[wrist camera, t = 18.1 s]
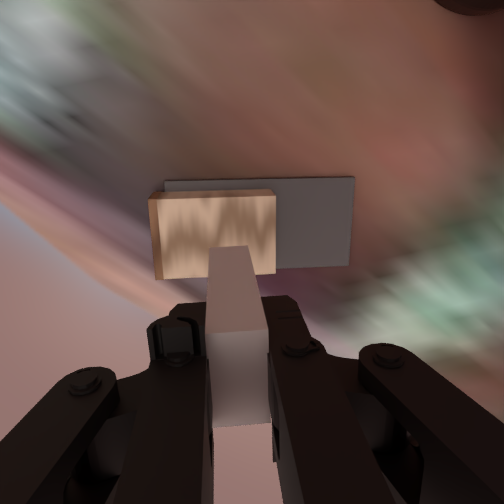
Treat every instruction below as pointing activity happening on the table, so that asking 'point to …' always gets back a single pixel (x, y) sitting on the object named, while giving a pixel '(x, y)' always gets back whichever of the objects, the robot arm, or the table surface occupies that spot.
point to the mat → (299, 216)
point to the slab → (211, 229)
